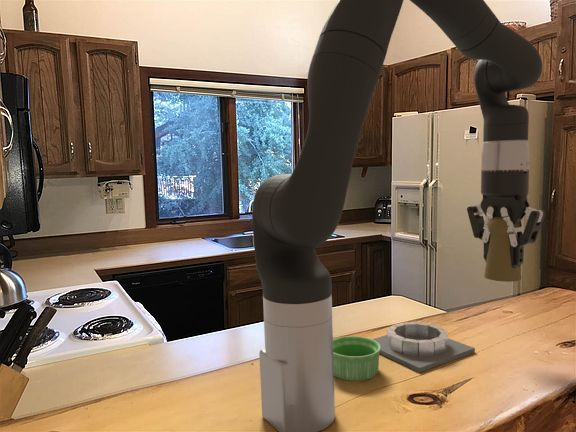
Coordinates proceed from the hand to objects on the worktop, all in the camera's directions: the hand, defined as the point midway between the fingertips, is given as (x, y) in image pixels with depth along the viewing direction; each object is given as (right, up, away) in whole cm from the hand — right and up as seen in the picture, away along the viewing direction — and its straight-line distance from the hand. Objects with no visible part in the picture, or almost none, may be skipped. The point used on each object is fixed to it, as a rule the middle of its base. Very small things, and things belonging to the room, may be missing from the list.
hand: (502, 264), depth 82 cm
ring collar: (-14, -16, +3) cm, 22 cm away
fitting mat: (-14, -16, +3) cm, 22 cm away
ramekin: (-27, -17, -4) cm, 32 cm away
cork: (0, -2, 0) cm, 3 cm away
